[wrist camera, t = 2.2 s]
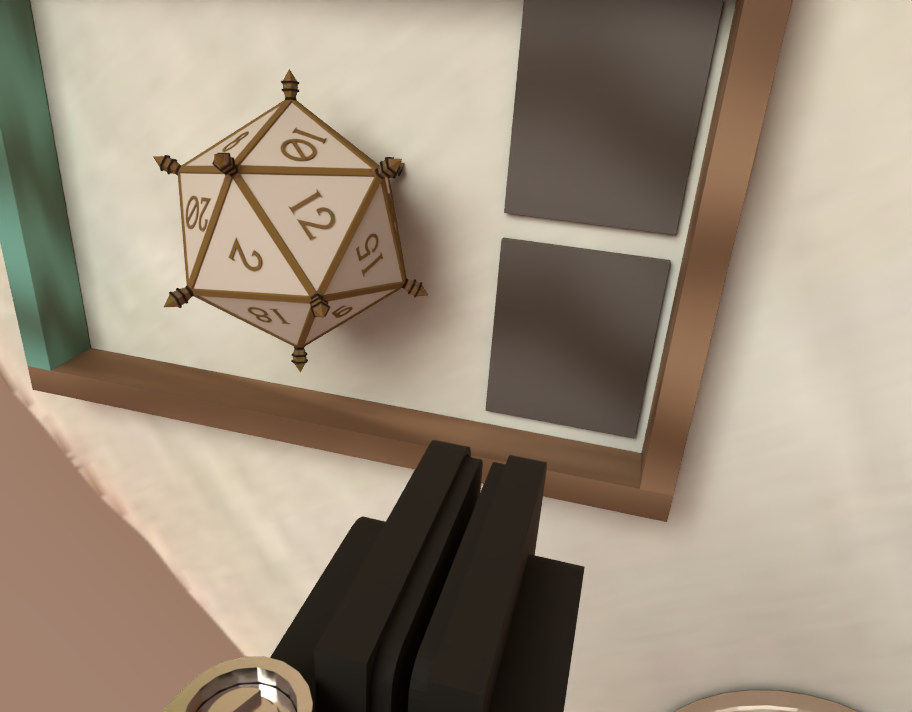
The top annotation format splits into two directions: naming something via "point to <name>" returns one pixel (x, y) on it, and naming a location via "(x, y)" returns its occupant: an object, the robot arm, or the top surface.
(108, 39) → the top surface
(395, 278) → the game die
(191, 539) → the top surface
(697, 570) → the top surface
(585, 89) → the shallow open wooden box
